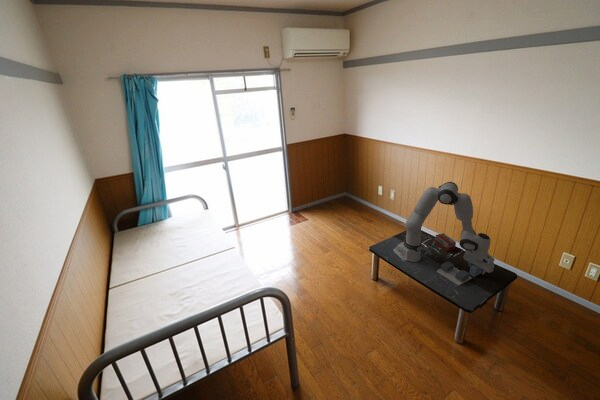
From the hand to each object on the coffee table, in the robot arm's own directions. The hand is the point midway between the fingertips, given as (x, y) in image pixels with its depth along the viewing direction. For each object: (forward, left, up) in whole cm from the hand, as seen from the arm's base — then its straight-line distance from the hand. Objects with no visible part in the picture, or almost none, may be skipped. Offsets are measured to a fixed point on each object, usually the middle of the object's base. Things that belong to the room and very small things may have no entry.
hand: (476, 270), depth 205 cm
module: (0, 0, -3) cm, 3 cm away
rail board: (-7, -14, -3) cm, 16 cm away
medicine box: (-35, +12, -4) cm, 37 cm away
